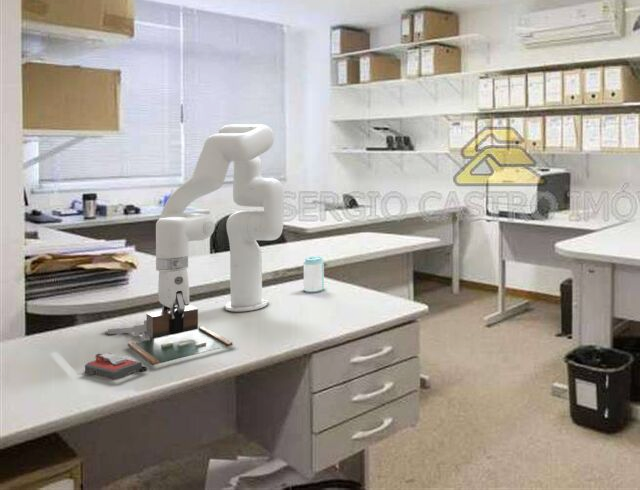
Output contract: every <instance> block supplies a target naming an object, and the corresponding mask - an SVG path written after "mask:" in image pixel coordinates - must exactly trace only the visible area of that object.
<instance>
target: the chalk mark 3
mask: <svg viewBox="0 0 640 490" xmlns="http://www.w3.org/2000/svg"><path fill="white" fill-rule="evenodd" d="M202 345H206V342H200V343H196V344H195V346H196V347H197V346H202Z"/></svg>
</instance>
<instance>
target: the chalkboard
mask: <svg viewBox="0 0 640 490" xmlns="http://www.w3.org/2000/svg"><path fill="white" fill-rule="evenodd" d="M169 342H172V343H173V345H170V346H166V347H162V346H161V344H165V343H169ZM185 342H189V343H190V345H186V346H182V347H179V346H178V344H181V343H185ZM200 342H206V345H202V346H197V347H196V346H195V344H196V343H200ZM127 346H128V347H130V349H132V350H133V351H135V352H136V353H137V354H139V355H140V356H141V357H142V358H144V359H145V360H146V361H147V362H149V363H150V364H151V365H153V366H155V365H159V364H163V363H167V362H170V361H176V360H180V359H182V358H187V357H190V356H194V355H199V354H202V353H206V352H211V351H215V350H218V349H222V348H227V347H231V346H233V342H232V341H230V340H228V339H226V338H225V337H223V336H221V335H219V334H217V333H216V332H214V331H212V330H211V329H209V328H206V327H205V326H198V329H195V330H191V331H186V332H182V333H177V334H172V335H168V336H163V337H158V338H154V339H152V340H149V339H148V340H145V341H139V342H135V341H129V342H127Z"/></svg>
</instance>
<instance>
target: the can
mask: <svg viewBox="0 0 640 490" xmlns="http://www.w3.org/2000/svg"><path fill="white" fill-rule="evenodd" d="M324 289H325V261H324V260H323V257H321V256H308V257H305V260H304V262H303V291H305V292H306V293H318V292H321V291H323V290H324Z"/></svg>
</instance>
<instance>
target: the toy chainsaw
mask: <svg viewBox="0 0 640 490" xmlns="http://www.w3.org/2000/svg"><path fill="white" fill-rule="evenodd" d="M147 371H148V367H147V366H143V362H141V361H136V360H133V357H131V356H127V355H124V354H121V355H118V354H115V353H110V352H106V353H96V354H95V360H92V361H89V362H87V363H86V364H84V373H85V374H89V375H92V376H99V377H102V378H106V379H110V380H120V379H123V378H125V377H128V376H130V374H133V373H134V374H136V373H143V372H147Z"/></svg>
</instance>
